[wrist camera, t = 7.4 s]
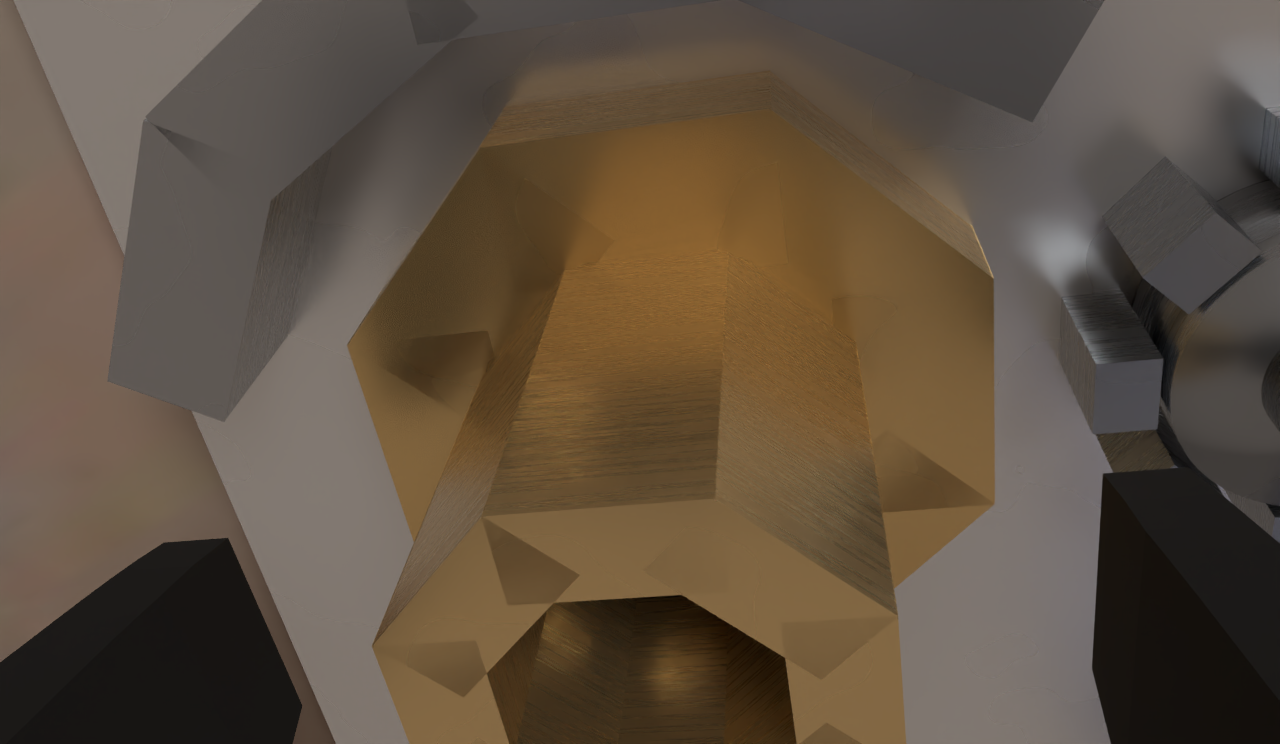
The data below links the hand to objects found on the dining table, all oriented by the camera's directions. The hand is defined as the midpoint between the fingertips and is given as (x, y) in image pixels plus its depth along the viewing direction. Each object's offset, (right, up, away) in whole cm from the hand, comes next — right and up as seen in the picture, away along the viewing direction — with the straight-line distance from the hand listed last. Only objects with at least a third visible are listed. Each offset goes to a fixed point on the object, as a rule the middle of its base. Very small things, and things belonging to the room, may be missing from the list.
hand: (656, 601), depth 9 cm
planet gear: (0, +2, +3) cm, 4 cm away
